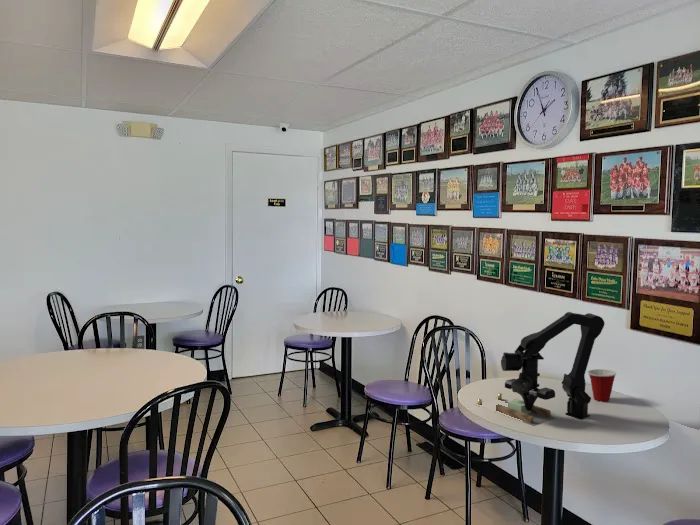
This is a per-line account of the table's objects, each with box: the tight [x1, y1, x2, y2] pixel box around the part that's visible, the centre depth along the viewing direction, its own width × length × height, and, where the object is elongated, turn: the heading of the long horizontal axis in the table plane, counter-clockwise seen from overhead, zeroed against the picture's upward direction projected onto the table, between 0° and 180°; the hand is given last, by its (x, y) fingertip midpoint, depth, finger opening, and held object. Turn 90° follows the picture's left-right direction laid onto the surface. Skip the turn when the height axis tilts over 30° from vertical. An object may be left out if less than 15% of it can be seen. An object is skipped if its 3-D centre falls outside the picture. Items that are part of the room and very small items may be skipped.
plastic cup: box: [587, 368, 617, 403], centre depth 221 cm, size 11×11×12 cm
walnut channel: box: [496, 398, 552, 424], centre depth 205 cm, size 16×12×2 cm
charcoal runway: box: [503, 399, 557, 427], centre depth 208 cm, size 28×14×1 cm, turn 35°
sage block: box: [508, 398, 531, 414], centre depth 206 cm, size 6×6×4 cm
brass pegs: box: [477, 392, 503, 405], centre depth 218 cm, size 2×14×2 cm, turn 125°
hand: (528, 410), depth 202 cm, fingers closed
